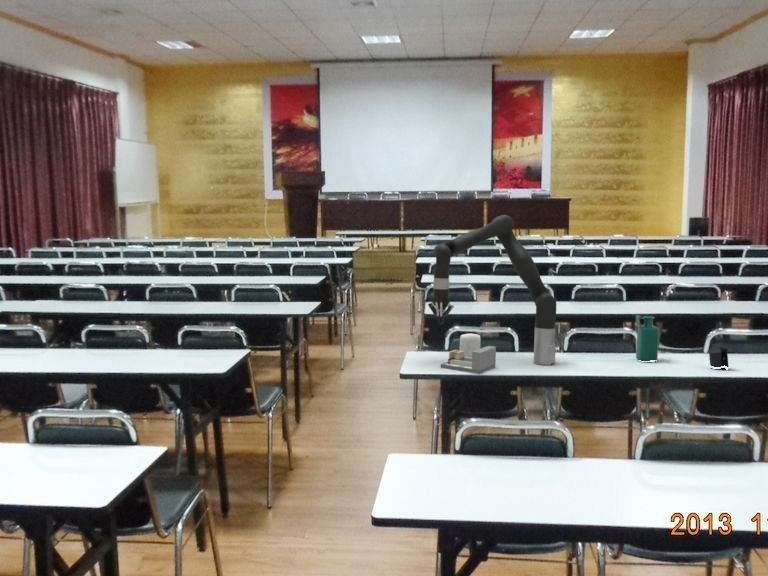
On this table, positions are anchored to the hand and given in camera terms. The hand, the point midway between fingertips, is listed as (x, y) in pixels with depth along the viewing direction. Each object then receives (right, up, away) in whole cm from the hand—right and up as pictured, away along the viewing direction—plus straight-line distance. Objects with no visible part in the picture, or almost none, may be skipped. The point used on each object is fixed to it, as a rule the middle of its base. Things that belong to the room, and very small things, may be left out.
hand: (440, 324), depth 333 cm
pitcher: (+100, -19, +11) cm, 103 cm away
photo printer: (+15, -18, +12) cm, 26 cm away
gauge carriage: (+6, -18, -5) cm, 19 cm away
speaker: (+128, -21, -5) cm, 130 cm away
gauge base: (+12, -20, -6) cm, 24 cm away
